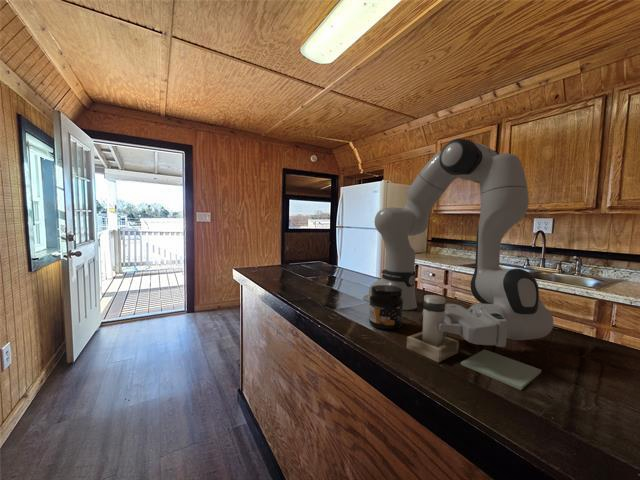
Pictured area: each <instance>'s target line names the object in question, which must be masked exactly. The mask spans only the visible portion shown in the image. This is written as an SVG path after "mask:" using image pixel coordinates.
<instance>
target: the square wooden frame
mask: <svg viewBox="0 0 640 480" xmlns="http://www.w3.org/2000/svg"><path fill="white" fill-rule="evenodd" d="M422 333H423V331H420V332H417V333H414V334H412V335H409V336H406V349H407V350H410V351H413V352H414V353H417V354H418V355H421V356H423V357H424V358H425V357H426V358H427V359H430V360H432V361H434V362H436V363H440V362H442V361H444V360H446V359H448V358H450V357H452V356H454V355H456V354H458V353H459V343H460V341H458V340H456V339H453V338H451V337H448V336H445V335H443V345H442V346H440V347H435V346H433V345H430V344H428V343H425V342H423V341H422Z"/></svg>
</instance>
